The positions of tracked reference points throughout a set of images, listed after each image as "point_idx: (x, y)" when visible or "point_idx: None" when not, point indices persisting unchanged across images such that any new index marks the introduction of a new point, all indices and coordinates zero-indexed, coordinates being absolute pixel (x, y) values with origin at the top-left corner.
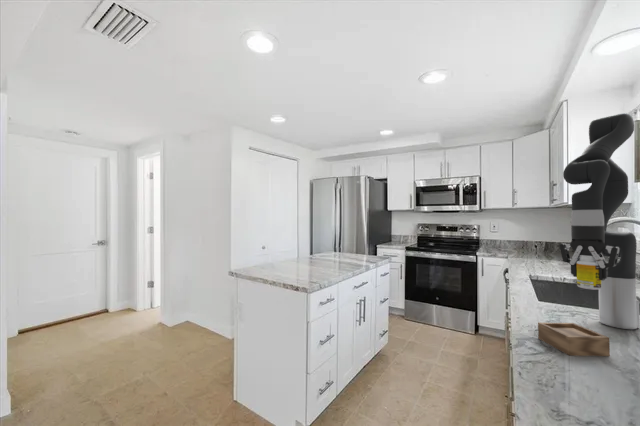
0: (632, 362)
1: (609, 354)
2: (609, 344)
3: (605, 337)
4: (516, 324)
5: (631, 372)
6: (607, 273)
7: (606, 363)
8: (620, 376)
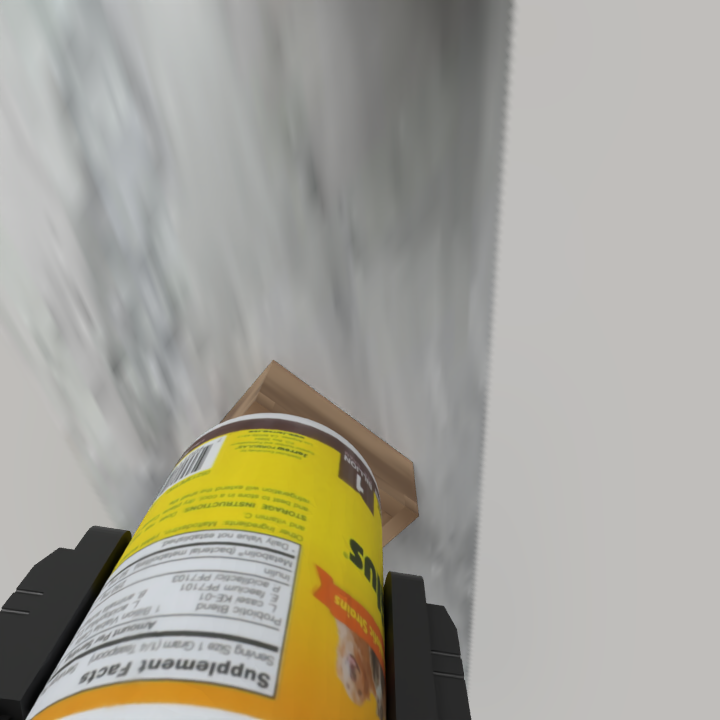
0: (477, 465)
1: (412, 466)
2: (415, 493)
3: (405, 525)
4: (14, 351)
5: (469, 554)
6: (461, 690)
7: (407, 538)
8: (443, 602)
